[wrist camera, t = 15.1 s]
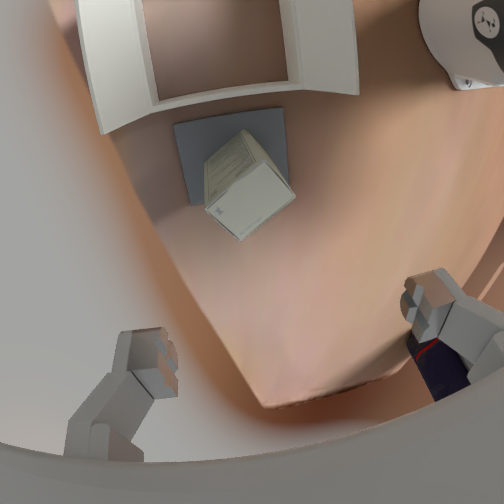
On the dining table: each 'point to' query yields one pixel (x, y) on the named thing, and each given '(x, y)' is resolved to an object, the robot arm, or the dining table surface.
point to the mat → (219, 133)
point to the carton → (147, 101)
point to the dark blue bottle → (440, 366)
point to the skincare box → (243, 186)
